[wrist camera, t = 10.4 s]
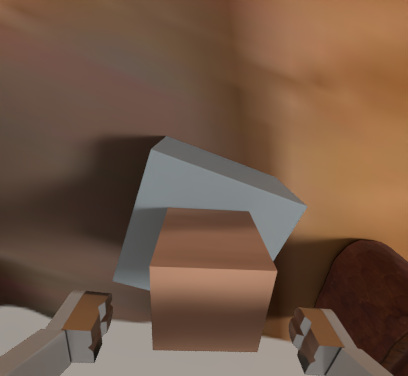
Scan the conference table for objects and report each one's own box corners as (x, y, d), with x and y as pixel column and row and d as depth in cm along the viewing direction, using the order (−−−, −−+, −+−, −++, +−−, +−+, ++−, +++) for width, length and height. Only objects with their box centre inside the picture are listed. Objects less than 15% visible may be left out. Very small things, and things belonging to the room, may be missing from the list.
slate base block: (167, 135, 17) (151, 149, 11) (274, 176, 18) (307, 206, 13) (136, 233, 20) (112, 280, 15) (229, 260, 22) (240, 314, 16)
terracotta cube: (168, 207, 13) (149, 266, 8) (249, 211, 13) (277, 271, 8) (168, 271, 14) (152, 350, 10) (238, 273, 15) (257, 352, 10)
